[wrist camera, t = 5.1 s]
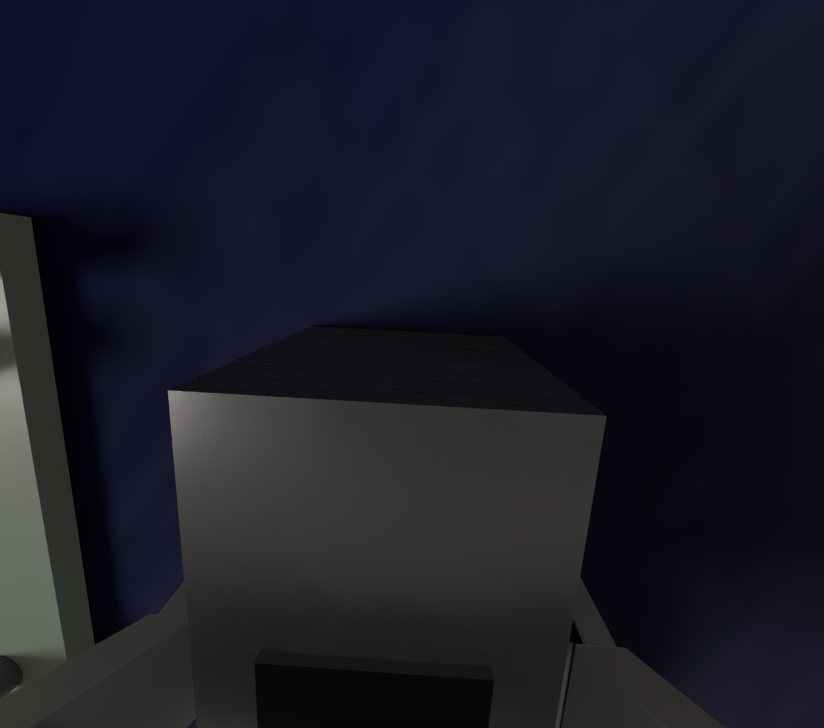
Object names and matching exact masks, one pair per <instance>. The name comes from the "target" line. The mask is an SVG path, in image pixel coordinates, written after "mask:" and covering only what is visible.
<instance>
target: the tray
mask: <svg viewBox="0 0 824 728" xmlns="http://www.w3.org/2000/svg"><path fill="white" fill-rule="evenodd" d="M94 645H95V643H94V636H93V630H92V623H91V616H90V610H89V603H88V596H87V590H86V583H85V576H84V569H83V563H82V556H81V549H80V543H79V536H78V529H77V523H76V516H75V509H74V502H73V496H72V489H71V482H70V476H69V469H68V462H67V456H66V449H65V442H64V435H63V429H62V422H61V415H60V409H59V402H58V395H57V389H56V382H55V375H54V368H53V362H52V355H51V348H50V342H49V335H48V328H47V322H46V315H45V308H44V301H43V295H42V288H41V281H40V275H39V268H38V261H37V255H36V248H35V241H34V234H33V228H32V221H31V217H24V216H17V215H10V214H3V213H0V699H1V698H3V697H5V696H7V695H8V694H10V693H12V692H14V691H15V690H17V689H19V688H21V687H22V686H24V685H26V684H28V683H29V682H31V681H33V680H35V679H36V678H38V677H40V676H42V675H44V674H45V673H47V672H49V671H51V670H52V669H54V668H56V667H58V666H59V665H61V664H63V663H65V662H66V661H68V660H70V659H72V658H73V657H75V656H77V655H79V654H80V653H82V652H84V651H86V650H87V649H89V648H91V647H93V646H94Z"/></svg>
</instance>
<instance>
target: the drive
mask: <svg viewBox="0 0 824 728" xmlns="http://www.w3.org/2000/svg"><path fill="white" fill-rule="evenodd" d="M168 397H169V409H170V420H171V432H172V443H173V455H174V467H175V478H176V490H177V502H178V513H179V525H180V537H181V548H182V560H183V571H184V583H185V595H186V606H187V618H188V630H189V641H190V653H191V665H192V676H193V688H194V699H195V711H196V723H197V728H555V725H556V719H557V713H558V707H559V701H560V695H561V689H562V682H563V676H564V670H565V664H566V658H567V652H568V646H569V640H570V634H571V628H572V622H573V616H574V610H575V604H576V598H577V592H578V586H579V580H580V574H581V568H582V562H583V555H584V549H585V543H586V537H587V531H588V525H589V519H590V513H591V507H592V501H593V495H594V489H595V483H596V477H597V471H598V465H599V459H600V453H601V447H602V441H603V435H604V428H605V422H606V415H605V414H603V413H602V412H601V411H599V410H598V409H597V408H596V407H594V406H593V405H592V404H590V403H589V402H588V401H587V400H585V399H584V398H583V397H581V396H580V395H579V394H578V393H576V392H575V391H574V390H572V389H571V388H570V387H569V386H567V385H566V384H565V383H563V382H562V381H561V380H560V379H558V378H557V377H556V376H554V375H553V374H552V373H551V372H549V371H548V370H547V369H545V368H544V367H543V366H542V365H540V364H539V363H538V362H536V361H535V360H534V359H533V358H531V357H530V356H529V355H527V354H526V353H525V352H524V351H522V350H521V349H520V348H518V347H517V346H516V345H515V344H513V343H512V342H511V341H509V340H508V339H507V338H506V337H504V336H486V335H468V334H450V333H431V332H413V331H395V330H376V329H358V328H340V327H321V326H310V327H308V328H306V329H303V330H301V331H299V332H297V333H294V334H292V335H290V336H288V337H286V338H283V339H281V340H279V341H277V342H274V343H272V344H270V345H268V346H266V347H263V348H261V349H259V350H257V351H254V352H252V353H250V354H248V355H246V356H243V357H241V358H239V359H237V360H235V361H232V362H230V363H228V364H226V365H223V366H221V367H219V368H217V369H215V370H212V371H210V372H208V373H206V374H203V375H201V376H199V377H197V378H195V379H192V380H190V381H188V382H186V383H183V384H181V385H179V386H177V387H175V388H172V389H170V390H168Z"/></svg>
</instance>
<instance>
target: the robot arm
mask: <svg viewBox="0 0 824 728" xmlns="http://www.w3.org/2000/svg"><path fill="white" fill-rule="evenodd" d="M195 718H196V711H195V699H194V688H193V676H192V665H191V653H190V641H189V630H188V618H187V606H186V595H185V583H184V582H183V583H182V584H181V586H180V587H179V588H178V589H177V591H176V592H175V593H174V594H173V596H172V597H171V598H170V599H169V601H168V602H167V603H166V604H165V606H164V607H163V608H162V610H161V611H160V612H159V613H158V615H150V614H149V615H147V616H145V617H144V618H142V619H140V620H138V621H137V622H135V623H133V624H131V625H130V626H128V627H126V628H124V629H123V630H121V631H119V632H117V633H116V634H114V635H112V636H110V637H108V638H107V639H105V640H103V641H101V642H100V643H98V644H96V645H94V646H93V647H91V648H89V649H87V650H86V651H84V652H82V653H80V654H79V655H77V656H75V657H73V658H72V659H70V660H68V661H66V662H65V663H63V664H61V665H59V666H58V667H56V668H54V669H52V670H51V671H49V672H47V673H45V674H44V675H42V676H40V677H38V678H36V679H35V680H33V681H31V682H29V683H28V684H26V685H24V686H22V687H21V688H19V689H17V690H15V691H14V692H12V693H10V694H8V695H7V696H5V697H3V698H1V699H0V728H186V727H187V726H188V725H189V724H190V723H191V722H192V721H193V720H194V719H195ZM555 728H724V727H723V726H722V725H721V724H719V723H718V722H717V721H716V720H714V719H713V718H712V717H711V716H709V715H708V714H707V713H706V712H704V711H703V710H702V709H701V708H700V707H698V706H697V705H696V704H695V703H693V702H692V701H691V700H690V699H688V698H687V697H686V696H685V695H683V694H682V693H681V692H680V691H678V690H677V689H676V688H675V687H674V686H672V685H671V684H670V683H669V682H667V681H666V680H665V679H664V678H662V677H661V676H660V675H659V674H657V673H656V672H655V671H654V670H653V669H651V668H650V667H649V666H648V665H646V664H645V663H644V662H643V661H641V660H640V659H639V658H638V657H636V656H635V655H634V654H633V653H631V652H630V651H629V650H628V649H627V648H624V647H617V646H616V644H615V642H614V640H613V638H612V636H611V635H610V633H609V631H608V629H607V627H606V625H605V623H604V621H603V619H602V617H601V616H600V614H599V612H598V610H597V608H596V606H595V604H594V602H593V600H592V598H591V596H590V595H589V593H588V591H587V589H586V587H585V585H584V583H583V581H582V579H581V578H580V580H579V586H578V592H577V598H576V604H575V610H574V616H573V622H572V628H571V634H570V640H569V646H568V652H567V658H566V664H565V670H564V676H563V682H562V689H561V695H560V701H559V707H558V713H557V719H556V725H555Z"/></svg>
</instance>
